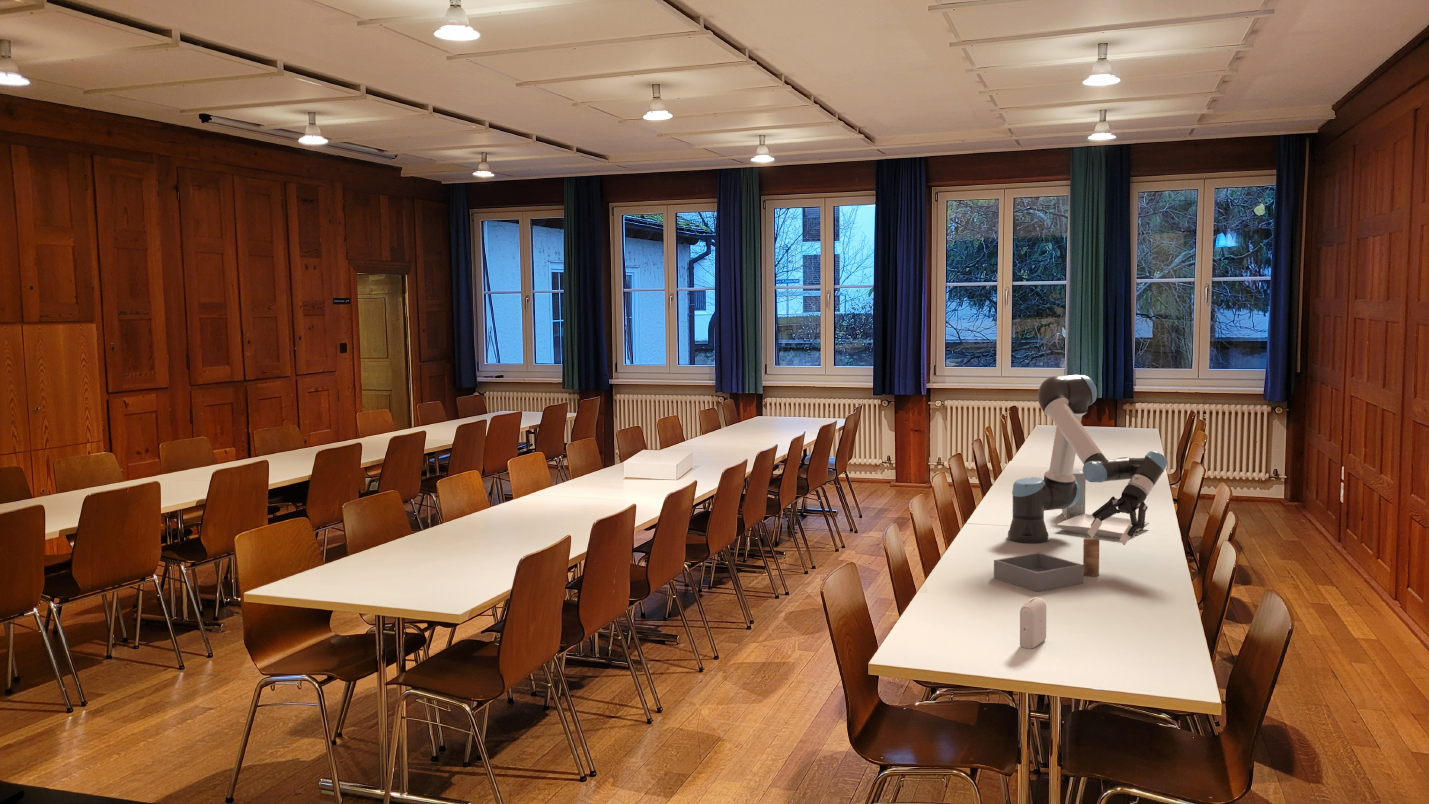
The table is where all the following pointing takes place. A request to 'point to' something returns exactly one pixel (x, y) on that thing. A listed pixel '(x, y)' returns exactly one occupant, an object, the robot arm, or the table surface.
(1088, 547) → the walnut cylinder
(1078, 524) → the square plate
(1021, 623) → the photo printer
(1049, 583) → the tote
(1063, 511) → the hard drive box
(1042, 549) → the table surface
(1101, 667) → the table surface
